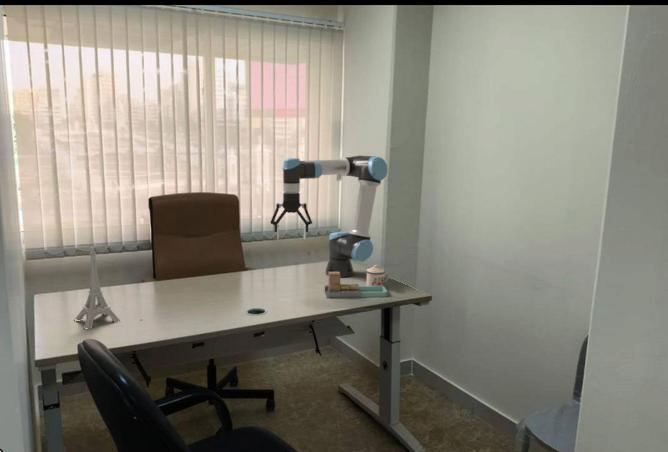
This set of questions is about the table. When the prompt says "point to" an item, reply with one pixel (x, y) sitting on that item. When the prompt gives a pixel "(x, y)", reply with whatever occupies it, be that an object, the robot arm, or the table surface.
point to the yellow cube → (354, 287)
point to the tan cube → (344, 287)
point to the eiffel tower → (95, 292)
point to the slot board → (342, 294)
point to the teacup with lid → (376, 276)
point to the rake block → (334, 281)
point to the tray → (373, 294)
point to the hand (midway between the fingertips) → (291, 239)
